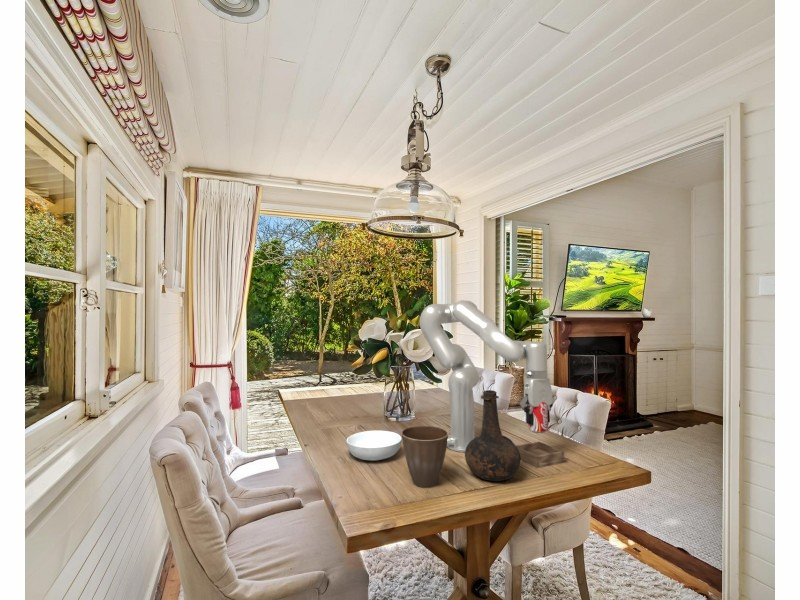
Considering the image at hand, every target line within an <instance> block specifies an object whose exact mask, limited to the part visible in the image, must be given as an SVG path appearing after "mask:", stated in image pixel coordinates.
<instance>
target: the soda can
mask: <svg viewBox="0 0 800 600" xmlns="http://www.w3.org/2000/svg"><path fill="white" fill-rule="evenodd" d="M542 401H544V400H542ZM529 405H530V404H529ZM529 409H530V407H529ZM532 414H533V425H530V424H527V425H528V430H530V432H532V433H534V434H545V433H546V432H548V431H549V422H548V406H547V404H546V403H545V402H542V403H540V405H539V406H538V407H533V411H532Z"/></svg>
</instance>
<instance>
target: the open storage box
mask: <svg viewBox="0 0 800 600" xmlns="http://www.w3.org/2000/svg"><path fill="white" fill-rule="evenodd" d="M515 445H516V444H515ZM516 447H517V448H518V450H519V453H520V457H521V461H522V462H524V463H525V464H528V465H529V466H532V467H534V468H536V469H539V468H545V467H549V466H554V465H555V466H556V465H559V464H563V463H568V459H567V458H565V451H564V450H560V449H558V448H556V447H553V446H551V445H549V444H546V443H544V442H541V441H534V442H529V443H528V442H527V443H523V444H517V445H516Z"/></svg>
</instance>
